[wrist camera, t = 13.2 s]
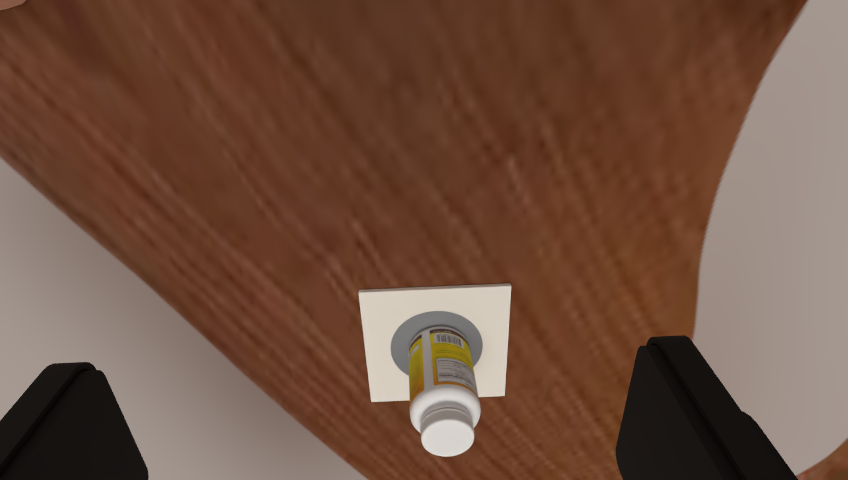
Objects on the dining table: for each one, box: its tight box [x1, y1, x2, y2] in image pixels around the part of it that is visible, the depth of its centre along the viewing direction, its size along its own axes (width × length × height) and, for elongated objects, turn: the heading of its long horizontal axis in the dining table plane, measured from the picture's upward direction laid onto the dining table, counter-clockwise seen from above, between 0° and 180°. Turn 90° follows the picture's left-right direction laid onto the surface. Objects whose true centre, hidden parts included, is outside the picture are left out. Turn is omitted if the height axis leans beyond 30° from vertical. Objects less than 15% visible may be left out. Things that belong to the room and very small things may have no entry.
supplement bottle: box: [408, 326, 481, 456], centre depth 43 cm, size 6×6×10 cm
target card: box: [359, 283, 511, 402], centre depth 48 cm, size 13×13×1 cm
